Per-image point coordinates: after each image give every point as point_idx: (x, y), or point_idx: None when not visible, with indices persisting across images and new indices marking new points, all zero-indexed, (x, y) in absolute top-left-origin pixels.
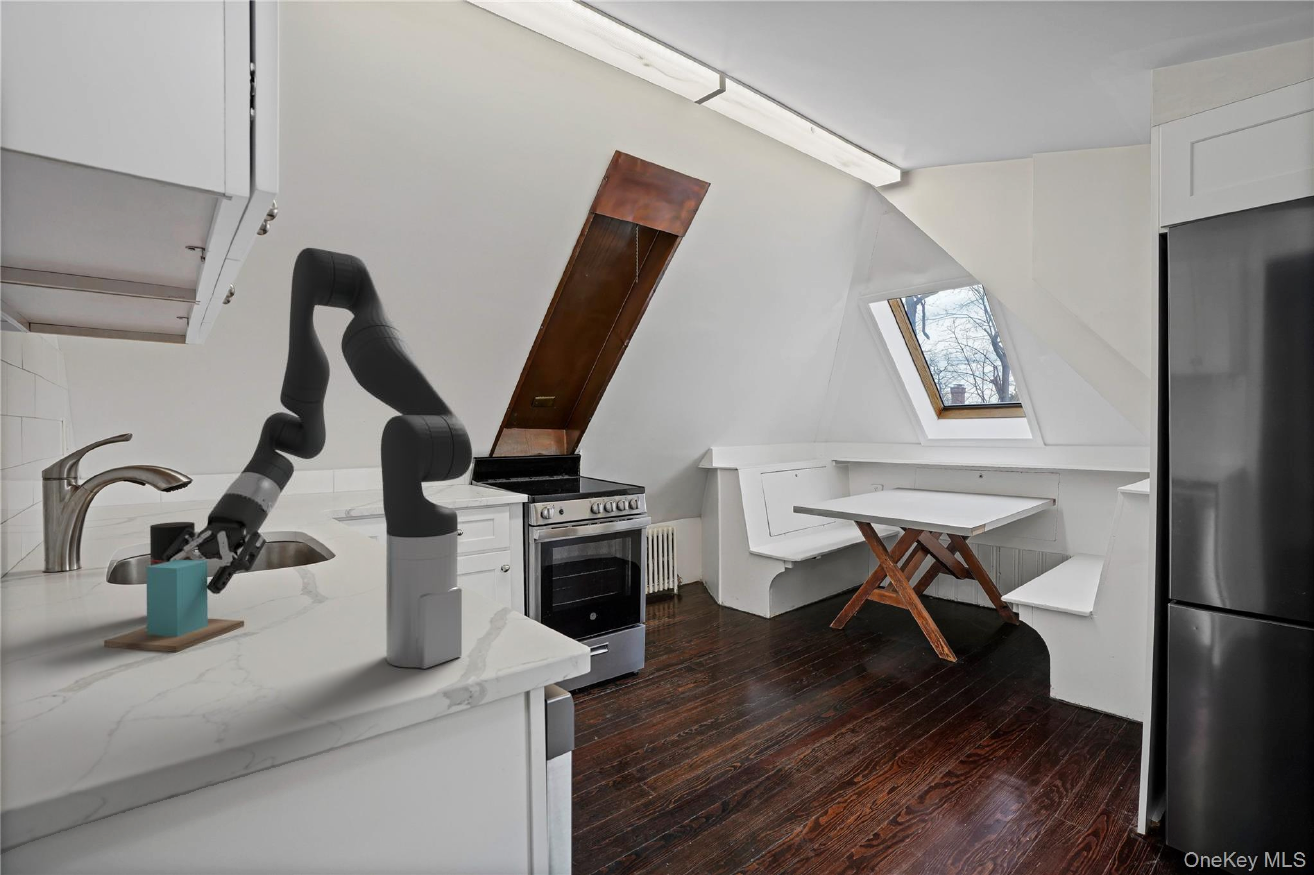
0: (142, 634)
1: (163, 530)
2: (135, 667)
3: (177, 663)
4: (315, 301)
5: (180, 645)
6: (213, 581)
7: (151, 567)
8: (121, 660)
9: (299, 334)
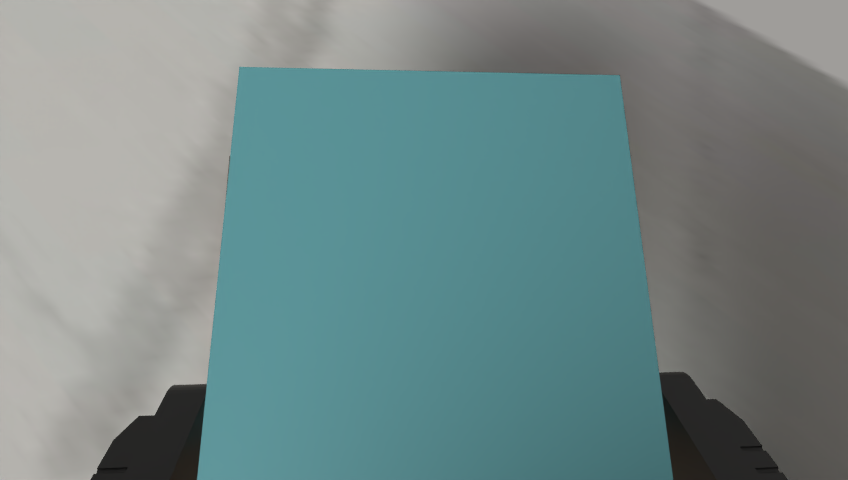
0: None
1: None
2: (254, 24)
3: (137, 74)
4: None
5: (228, 173)
6: (158, 417)
7: (554, 75)
8: (364, 66)
9: None
